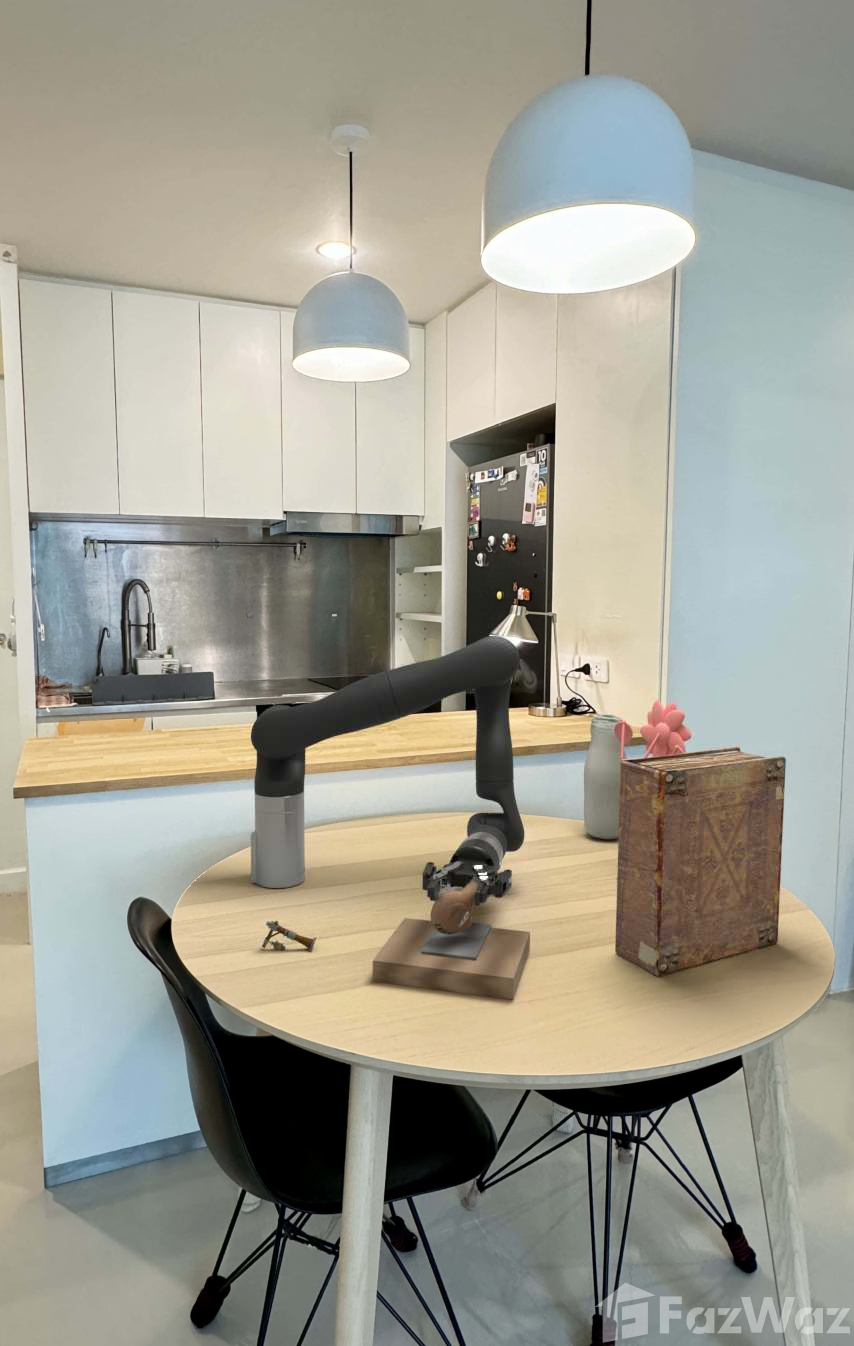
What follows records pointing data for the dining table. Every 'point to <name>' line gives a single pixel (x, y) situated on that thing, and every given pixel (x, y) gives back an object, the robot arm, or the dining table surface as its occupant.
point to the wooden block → (454, 959)
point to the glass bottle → (603, 779)
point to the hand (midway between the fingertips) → (454, 896)
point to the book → (698, 857)
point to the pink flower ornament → (658, 731)
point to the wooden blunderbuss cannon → (290, 934)
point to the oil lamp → (454, 909)
